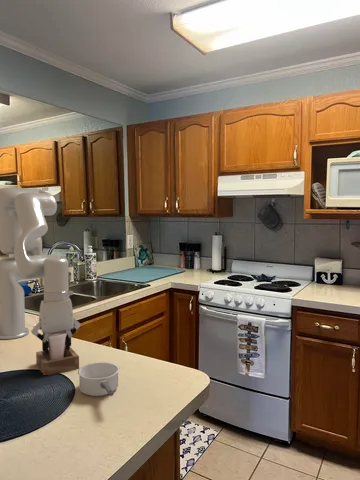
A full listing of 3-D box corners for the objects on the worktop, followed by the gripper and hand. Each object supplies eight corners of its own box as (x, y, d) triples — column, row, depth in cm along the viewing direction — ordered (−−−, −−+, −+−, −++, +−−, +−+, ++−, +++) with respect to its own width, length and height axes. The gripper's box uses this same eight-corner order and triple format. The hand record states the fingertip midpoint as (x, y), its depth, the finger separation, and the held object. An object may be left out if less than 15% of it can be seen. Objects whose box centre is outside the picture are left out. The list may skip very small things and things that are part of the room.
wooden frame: (36, 363, 119) (36, 352, 118) (69, 357, 125) (69, 345, 124) (43, 376, 110) (43, 363, 109) (79, 368, 116) (79, 356, 115)
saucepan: (87, 419, 87) (87, 397, 87) (75, 384, 105) (75, 365, 105) (133, 409, 92) (133, 388, 91) (113, 377, 110) (113, 359, 110)
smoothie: (70, 358, 120) (69, 317, 119) (62, 366, 114) (61, 323, 113) (52, 357, 121) (51, 316, 120) (42, 365, 114) (41, 322, 113)
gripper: (79, 291, 123) (79, 342, 125) (25, 296, 114) (26, 352, 115) (86, 295, 117) (86, 349, 118) (30, 301, 108) (31, 360, 109)
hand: (57, 350), depth 117 cm, fingers closed on smoothie, 6 cm apart
